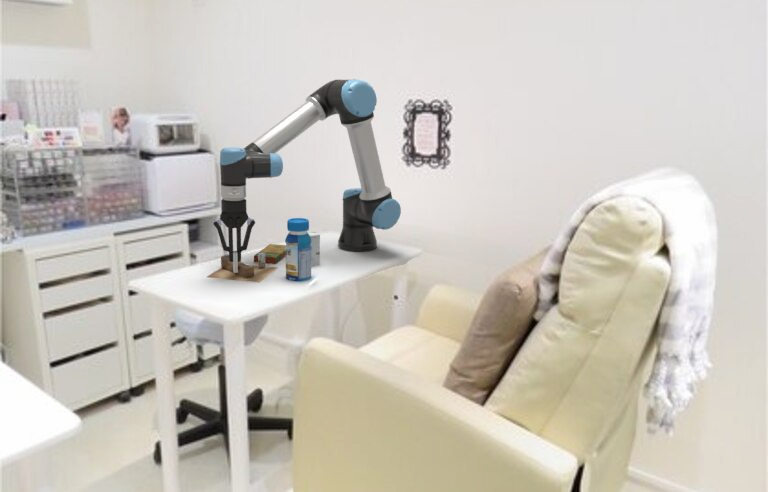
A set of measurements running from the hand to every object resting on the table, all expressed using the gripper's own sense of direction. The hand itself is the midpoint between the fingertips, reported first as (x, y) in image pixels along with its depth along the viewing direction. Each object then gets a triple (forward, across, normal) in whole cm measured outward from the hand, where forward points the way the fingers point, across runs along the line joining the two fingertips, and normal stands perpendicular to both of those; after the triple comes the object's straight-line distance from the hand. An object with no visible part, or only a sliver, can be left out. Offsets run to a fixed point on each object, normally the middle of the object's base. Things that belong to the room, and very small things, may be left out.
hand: (235, 271), depth 187 cm
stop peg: (+1, +9, +7) cm, 12 cm away
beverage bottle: (+3, +19, -5) cm, 20 cm away
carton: (+3, +14, +19) cm, 24 cm away
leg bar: (+1, +1, +4) cm, 5 cm away
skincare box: (+3, +25, +7) cm, 26 cm away
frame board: (+3, +3, +4) cm, 5 cm away
